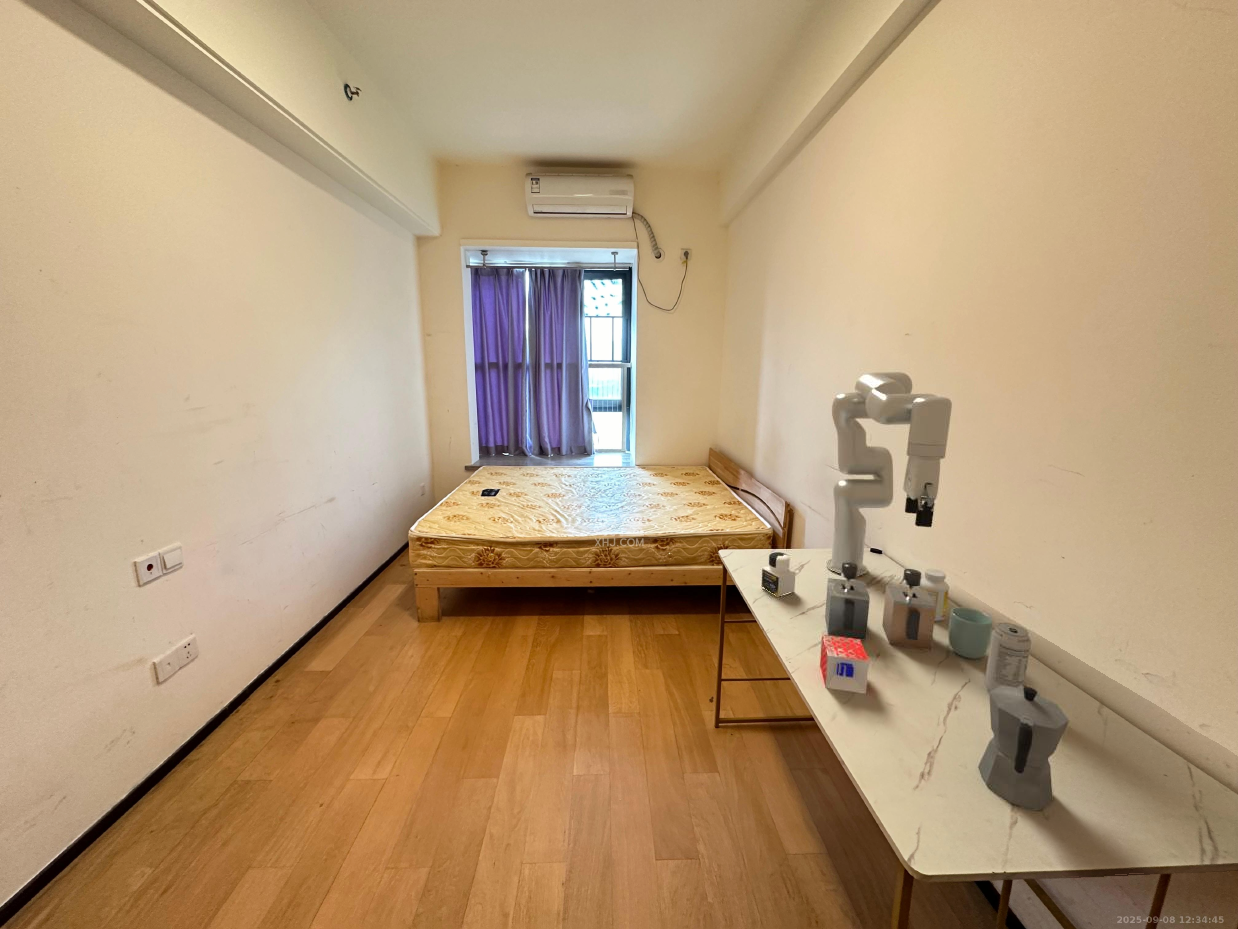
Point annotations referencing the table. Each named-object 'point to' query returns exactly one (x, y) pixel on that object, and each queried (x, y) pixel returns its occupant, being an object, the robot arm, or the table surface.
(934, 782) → the table surface
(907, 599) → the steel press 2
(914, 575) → the plunger
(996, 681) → the energy drink can
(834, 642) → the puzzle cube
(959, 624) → the cup
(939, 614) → the supplement bottle
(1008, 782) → the coffeepot
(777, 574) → the medicine bottle
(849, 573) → the plunger
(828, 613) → the grey joystick box
